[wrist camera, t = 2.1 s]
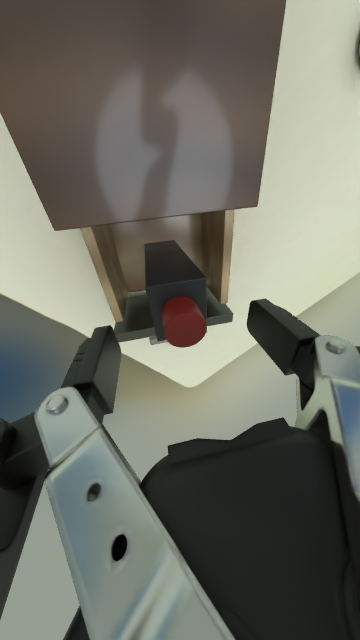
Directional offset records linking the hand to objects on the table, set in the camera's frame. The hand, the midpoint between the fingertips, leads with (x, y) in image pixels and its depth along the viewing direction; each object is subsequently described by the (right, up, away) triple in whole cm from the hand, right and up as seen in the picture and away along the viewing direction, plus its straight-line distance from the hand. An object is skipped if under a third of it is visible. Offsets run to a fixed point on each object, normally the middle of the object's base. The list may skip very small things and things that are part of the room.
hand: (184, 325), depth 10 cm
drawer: (-3, +8, +13) cm, 15 cm away
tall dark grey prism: (-2, +8, +12) cm, 14 cm away
